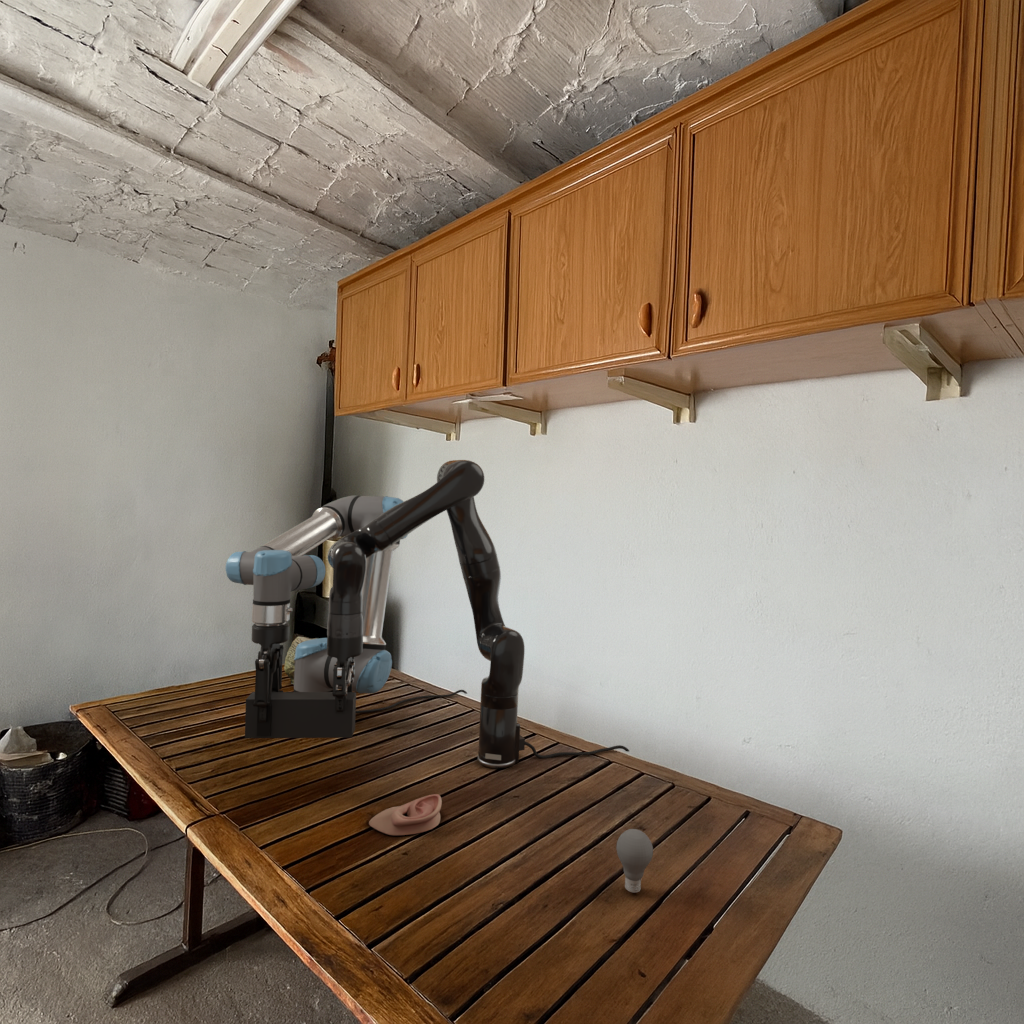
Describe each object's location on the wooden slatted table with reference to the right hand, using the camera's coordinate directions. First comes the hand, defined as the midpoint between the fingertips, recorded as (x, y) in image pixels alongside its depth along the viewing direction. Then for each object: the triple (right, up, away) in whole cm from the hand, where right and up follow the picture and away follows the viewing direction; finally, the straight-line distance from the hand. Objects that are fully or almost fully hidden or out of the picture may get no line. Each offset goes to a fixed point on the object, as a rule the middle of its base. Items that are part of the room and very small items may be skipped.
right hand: (343, 706), depth 138 cm
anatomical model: (+16, -19, -13) cm, 28 cm away
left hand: (-16, -5, -2) cm, 17 cm away
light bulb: (+57, -21, -32) cm, 68 cm away
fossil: (-31, -15, +77) cm, 85 cm away
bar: (-9, -6, -1) cm, 11 cm away
